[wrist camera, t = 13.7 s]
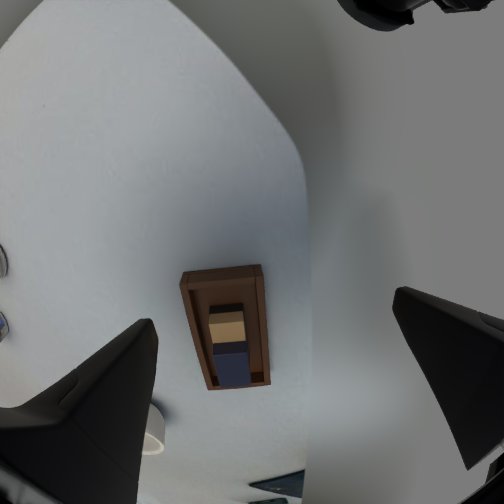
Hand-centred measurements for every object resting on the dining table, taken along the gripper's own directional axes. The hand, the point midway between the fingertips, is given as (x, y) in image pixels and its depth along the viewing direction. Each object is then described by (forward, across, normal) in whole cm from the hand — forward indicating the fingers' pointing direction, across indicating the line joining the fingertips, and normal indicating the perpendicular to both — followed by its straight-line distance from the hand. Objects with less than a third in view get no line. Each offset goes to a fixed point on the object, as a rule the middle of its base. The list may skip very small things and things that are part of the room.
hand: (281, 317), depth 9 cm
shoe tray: (+12, +3, +10) cm, 16 cm away
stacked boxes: (+12, +3, +10) cm, 15 cm away
